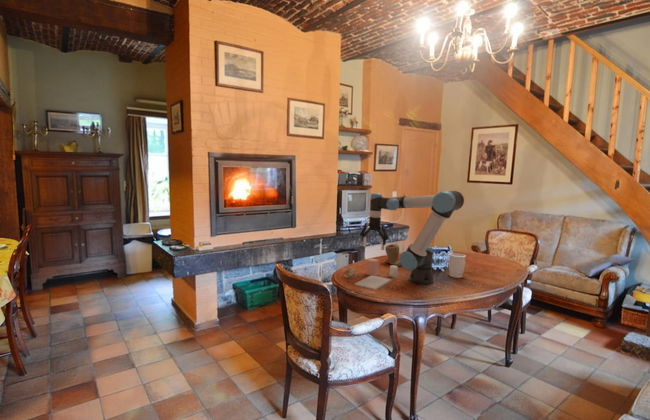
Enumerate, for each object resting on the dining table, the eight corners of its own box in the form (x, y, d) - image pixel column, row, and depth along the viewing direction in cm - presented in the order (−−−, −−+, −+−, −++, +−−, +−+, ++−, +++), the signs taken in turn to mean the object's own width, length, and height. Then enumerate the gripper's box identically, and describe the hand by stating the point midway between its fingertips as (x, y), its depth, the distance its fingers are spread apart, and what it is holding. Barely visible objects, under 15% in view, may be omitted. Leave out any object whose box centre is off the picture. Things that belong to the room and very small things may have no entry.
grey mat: (391, 281, 233) (391, 279, 232) (375, 290, 215) (375, 288, 215) (371, 276, 241) (371, 275, 240) (354, 285, 223) (354, 283, 222)
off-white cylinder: (398, 276, 243) (398, 266, 242) (395, 278, 239) (395, 267, 238) (391, 274, 246) (391, 264, 245) (388, 276, 242) (388, 266, 241)
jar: (464, 275, 250) (466, 254, 248) (463, 279, 241) (465, 257, 239) (448, 273, 254) (450, 252, 252) (446, 276, 245) (448, 255, 243)
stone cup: (381, 263, 275) (382, 243, 273) (392, 261, 282) (393, 242, 280) (395, 268, 263) (396, 247, 261) (407, 266, 269) (408, 246, 267)
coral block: (378, 274, 246) (379, 259, 245) (374, 276, 242) (375, 261, 240) (370, 272, 250) (371, 258, 249) (366, 274, 245) (367, 260, 244)
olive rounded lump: (354, 276, 239) (355, 269, 239) (350, 278, 235) (351, 271, 234) (348, 275, 242) (348, 268, 241) (344, 277, 238) (344, 269, 237)
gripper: (394, 218, 237) (392, 250, 240) (361, 214, 251) (359, 244, 254) (390, 219, 231) (388, 252, 233) (356, 215, 245) (354, 245, 248)
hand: (373, 248), depth 244 cm, fingers open, 13 cm apart
